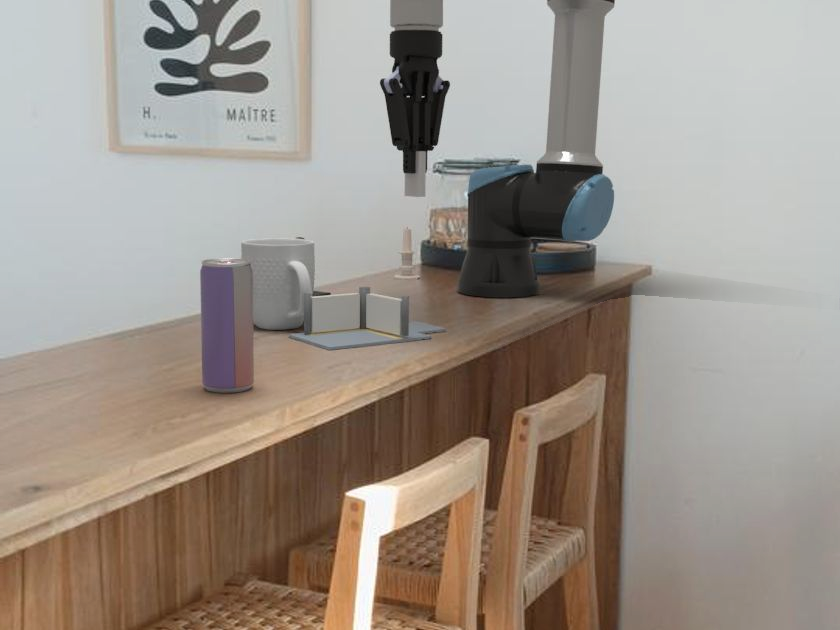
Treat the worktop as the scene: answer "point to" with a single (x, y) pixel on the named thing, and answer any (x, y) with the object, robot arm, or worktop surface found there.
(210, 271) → the beverage can
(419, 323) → the card
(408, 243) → the candle
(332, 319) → the fence fixed panel
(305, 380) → the worktop surface
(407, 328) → the panel
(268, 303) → the mug
